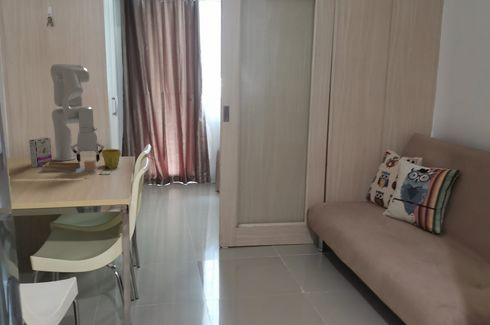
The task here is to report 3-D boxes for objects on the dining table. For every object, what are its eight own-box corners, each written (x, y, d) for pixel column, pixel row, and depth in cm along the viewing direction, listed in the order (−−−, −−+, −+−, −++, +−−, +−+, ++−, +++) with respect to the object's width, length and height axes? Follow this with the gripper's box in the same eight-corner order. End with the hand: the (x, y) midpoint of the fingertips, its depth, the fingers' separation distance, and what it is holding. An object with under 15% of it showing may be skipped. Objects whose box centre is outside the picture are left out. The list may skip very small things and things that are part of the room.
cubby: (48, 168, 242) (47, 162, 241) (80, 167, 244) (79, 162, 244) (42, 171, 232) (42, 166, 232) (75, 171, 235) (75, 165, 234)
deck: (47, 168, 247) (47, 166, 246) (100, 167, 251) (100, 165, 250) (36, 175, 229) (36, 173, 229) (94, 174, 233) (94, 172, 233)
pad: (98, 172, 240) (98, 170, 240) (111, 171, 241) (111, 170, 241) (96, 174, 233) (96, 173, 233) (109, 174, 234) (109, 173, 234)
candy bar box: (45, 165, 256) (43, 137, 253) (52, 165, 254) (50, 137, 251) (30, 168, 246) (28, 139, 243) (37, 169, 244) (35, 140, 241)
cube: (86, 168, 242) (86, 159, 241) (96, 168, 242) (95, 159, 241) (84, 170, 237) (84, 161, 236) (94, 170, 237) (93, 161, 236)
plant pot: (115, 169, 247) (115, 152, 246) (99, 168, 250) (98, 151, 248) (124, 165, 257) (123, 149, 256) (108, 165, 259) (107, 148, 258)
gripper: (104, 129, 241) (106, 160, 244) (71, 129, 238) (73, 160, 241) (102, 130, 233) (103, 162, 236) (68, 131, 231) (70, 163, 234)
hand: (88, 161), depth 239 cm, fingers open, 9 cm apart
